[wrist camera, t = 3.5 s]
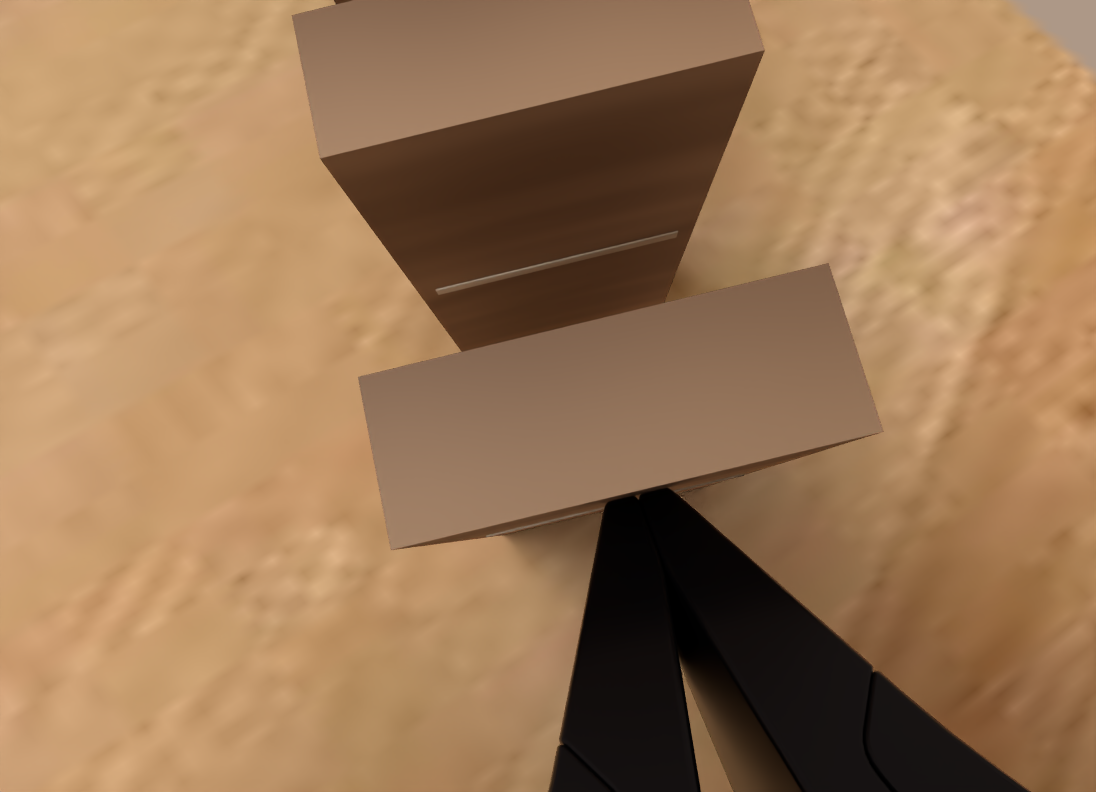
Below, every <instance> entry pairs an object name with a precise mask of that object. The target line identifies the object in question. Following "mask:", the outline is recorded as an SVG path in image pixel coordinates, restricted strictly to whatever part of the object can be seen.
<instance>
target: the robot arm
mask: <svg viewBox="0 0 1096 792" xmlns="http://www.w3.org/2000/svg"><path fill="white" fill-rule="evenodd" d="M680 664H681V666H680ZM681 667H682V669H683V672H684V675H685V677H686V680H687V682H688V685H689V687H690V689H691V692H692V694H693V696H694V699H695V701H696V704H697V706H698V708H699V711H700V713H701V715H702V718H703V720H704V723H705V725H706V727H707V730H708V732H709V734H710V737H711V739H712V741H713V744H714V746H715V749H716V751H717V753H718V756H719V758H720V760H721V763H722V765H723V768H724V770H725V772H726V775H727V777H728V779H729V782H730V784H731V787H732V789H733V791H734V792H1031V791H1029V790H1028V789H1026V788H1025V787H1024V786H1022V785H1021V784H1020V783H1018V782H1017V781H1015V780H1014V779H1013V778H1011V777H1010V776H1008V775H1007V774H1006V773H1004V772H1003V771H1002V770H1000V769H999V768H998V767H996V766H995V765H994V764H992V763H991V762H990V761H988V760H987V759H986V758H984V757H983V756H982V755H981V754H979V753H978V752H977V751H975V750H974V749H973V748H971V747H970V746H969V745H967V744H966V743H965V742H963V741H962V740H961V739H959V738H958V737H957V736H955V735H954V734H953V733H951V732H950V731H949V730H948V729H947V728H945V727H944V726H943V725H942V724H941V723H939V722H938V721H937V720H936V719H935V718H933V717H932V716H931V715H930V714H929V713H927V712H926V711H925V710H924V709H923V708H921V707H920V706H919V705H918V704H917V703H915V702H914V701H913V700H912V699H911V698H909V697H908V696H907V695H906V694H905V693H904V692H902V691H901V690H900V689H899V688H898V687H897V686H896V685H895V684H893V683H892V682H891V681H890V680H889V679H888V678H887V677H885V676H884V675H883V674H882V673H881V672H880V671H874V672H873V666H872V665H871V664H870V663H869V662H868V661H867V660H866V659H865V658H863V657H862V656H861V655H860V654H859V653H858V652H857V651H855V650H854V649H853V648H852V647H851V646H850V645H849V644H847V643H846V642H845V641H844V640H843V639H842V638H841V637H839V636H838V635H837V634H836V633H835V632H834V631H833V630H831V629H830V628H829V627H828V626H827V625H826V624H825V623H823V622H822V621H821V620H820V619H819V618H818V617H817V616H816V615H814V614H813V613H812V612H811V611H810V610H809V609H808V608H806V607H805V606H804V605H803V604H802V603H801V602H800V601H798V600H797V599H796V598H795V597H794V596H793V595H792V594H790V593H789V592H788V591H787V590H786V589H785V588H784V587H782V586H781V585H780V584H779V583H778V582H777V581H776V580H774V579H773V578H772V577H771V576H770V575H769V574H768V573H766V572H765V571H764V570H763V569H762V568H761V567H760V566H759V565H757V564H756V563H755V562H754V561H753V560H752V559H751V558H749V557H748V556H747V555H746V554H745V553H744V552H743V551H741V550H740V549H739V548H738V547H737V546H736V545H735V544H733V543H732V542H731V541H730V540H729V539H728V538H727V537H725V536H724V535H723V534H722V533H721V532H720V531H719V530H717V529H716V528H715V527H714V526H713V525H712V524H711V523H709V522H708V521H707V520H706V519H705V518H704V517H703V516H702V515H700V514H699V513H698V512H697V511H696V510H695V509H694V508H692V507H691V506H690V505H689V504H688V503H687V502H686V501H684V500H683V499H682V498H681V497H680V496H679V495H678V494H676V493H675V492H674V491H673V490H671V489H669V488H664V489H659V490H655V491H651V492H647V493H643V494H641V495H640V496H639V498H637V497H635V496H630V497H626V498H622V499H618V500H614V501H609V502H607V503H606V505H605V507H604V511H603V516H602V522H601V527H600V532H599V537H598V542H597V547H596V553H595V558H594V563H593V568H592V573H591V578H590V583H589V589H588V594H587V599H586V604H585V609H584V614H583V619H582V625H581V630H580V635H579V640H578V645H577V650H576V655H575V661H574V666H573V671H572V676H571V681H570V686H569V692H568V697H567V702H566V707H565V712H564V717H563V722H562V728H561V733H560V738H559V741H560V744H561V745H559V746H558V747H557V751H556V756H555V761H554V767H553V772H552V777H551V782H550V786H549V790H548V792H701V790H700V784H699V777H698V771H697V765H696V759H695V753H694V746H693V740H692V734H691V728H690V722H689V716H688V709H687V703H686V697H685V691H684V685H683V678H682V672H681Z"/></svg>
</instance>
